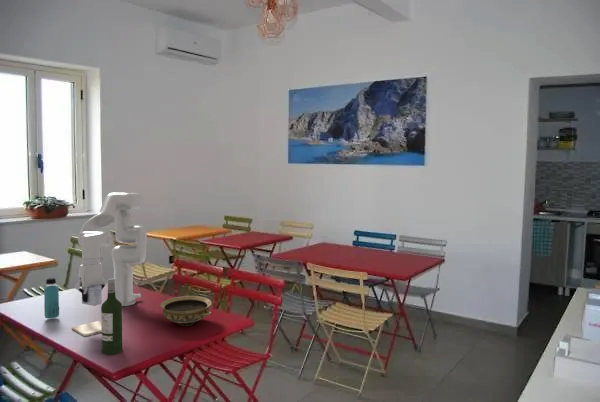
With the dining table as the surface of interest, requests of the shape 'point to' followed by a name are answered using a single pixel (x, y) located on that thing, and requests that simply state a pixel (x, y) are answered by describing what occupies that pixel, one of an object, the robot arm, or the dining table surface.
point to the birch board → (88, 328)
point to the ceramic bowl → (186, 309)
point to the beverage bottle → (51, 299)
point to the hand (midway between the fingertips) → (91, 300)
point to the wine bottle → (111, 322)
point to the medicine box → (93, 295)
